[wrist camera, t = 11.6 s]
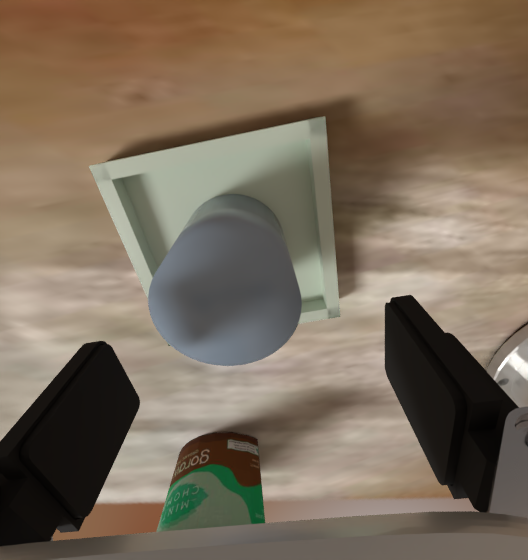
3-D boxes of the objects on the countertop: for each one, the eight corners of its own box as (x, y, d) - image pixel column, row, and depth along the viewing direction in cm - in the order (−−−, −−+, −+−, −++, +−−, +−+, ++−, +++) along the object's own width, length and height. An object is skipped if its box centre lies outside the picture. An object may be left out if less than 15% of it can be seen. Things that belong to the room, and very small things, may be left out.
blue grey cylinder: (275, 184, 16) (290, 223, 10) (290, 278, 19) (309, 353, 13) (170, 205, 16) (122, 255, 10) (201, 294, 19) (177, 375, 13)
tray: (317, 117, 15) (325, 116, 14) (333, 301, 21) (340, 316, 19) (105, 161, 16) (88, 166, 14) (174, 329, 21) (168, 345, 20)
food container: (213, 404, 25) (192, 554, 16) (267, 431, 27) (275, 578, 18) (142, 470, 30) (95, 617, 21) (194, 489, 32) (171, 631, 23)
